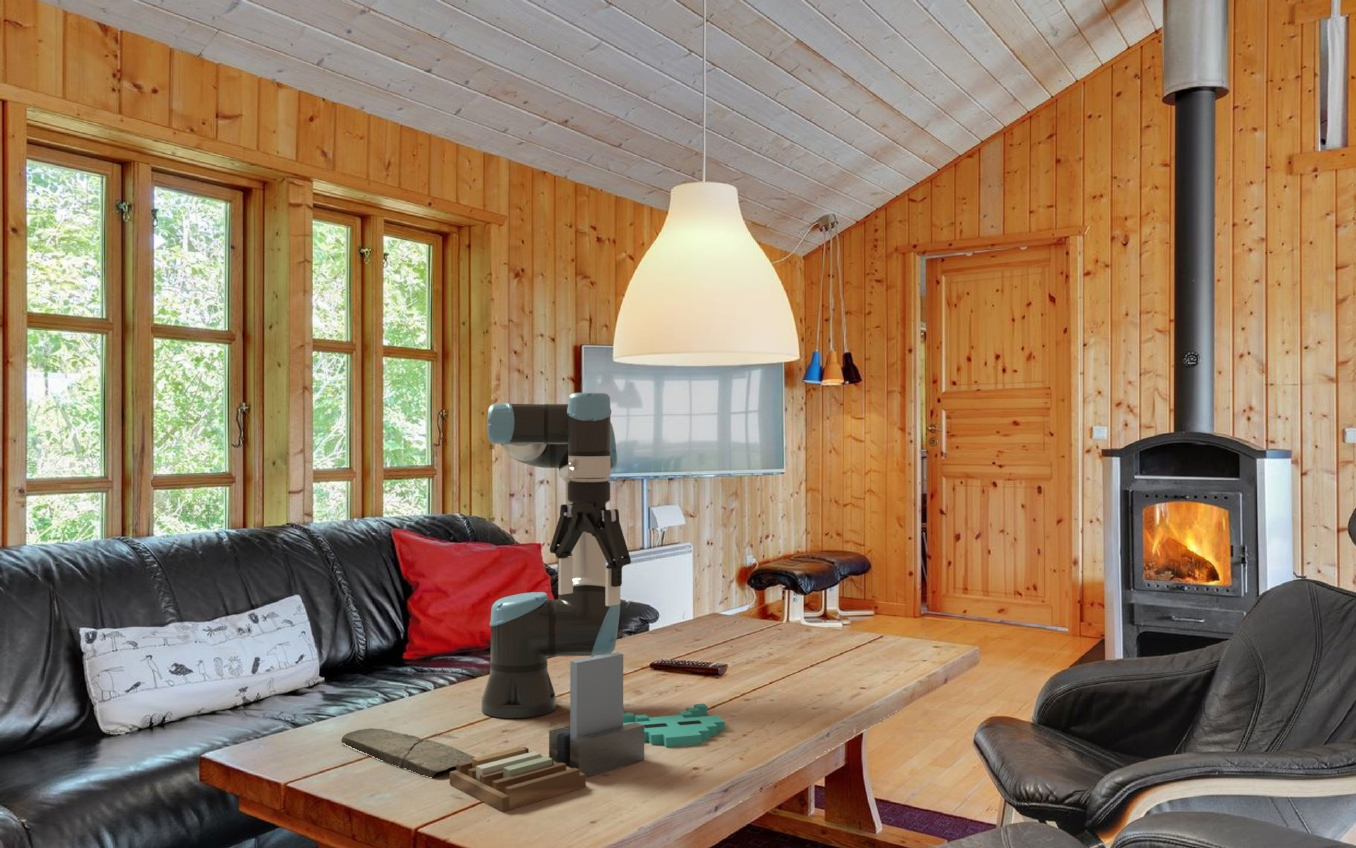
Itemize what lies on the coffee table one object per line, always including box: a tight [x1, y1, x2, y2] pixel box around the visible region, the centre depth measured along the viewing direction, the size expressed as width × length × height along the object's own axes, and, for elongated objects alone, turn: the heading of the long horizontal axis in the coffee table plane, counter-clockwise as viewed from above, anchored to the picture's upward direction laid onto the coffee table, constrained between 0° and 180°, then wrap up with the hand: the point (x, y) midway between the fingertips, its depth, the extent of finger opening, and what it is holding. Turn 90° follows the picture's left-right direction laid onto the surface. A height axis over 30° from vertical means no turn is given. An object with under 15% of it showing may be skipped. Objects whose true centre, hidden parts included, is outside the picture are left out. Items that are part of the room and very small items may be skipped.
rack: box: [449, 746, 587, 812], centre depth 154 cm, size 16×15×3 cm
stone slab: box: [340, 727, 477, 778], centre depth 170 cm, size 10×3×30 cm
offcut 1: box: [472, 746, 526, 768], centre depth 158 cm, size 2×9×4 cm, turn 132°
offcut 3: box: [503, 756, 552, 778], centre depth 153 cm, size 2×8×4 cm, turn 133°
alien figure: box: [623, 703, 726, 748], centre depth 184 cm, size 20×2×20 cm
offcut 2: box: [476, 750, 542, 781], centre depth 155 cm, size 2×11×4 cm, turn 132°
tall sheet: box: [569, 652, 624, 739], centre depth 165 cm, size 2×10×17 cm, turn 133°
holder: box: [548, 722, 645, 778], centre depth 165 cm, size 8×14×6 cm, turn 132°
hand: (588, 599), depth 171 cm, fingers open, 13 cm apart
